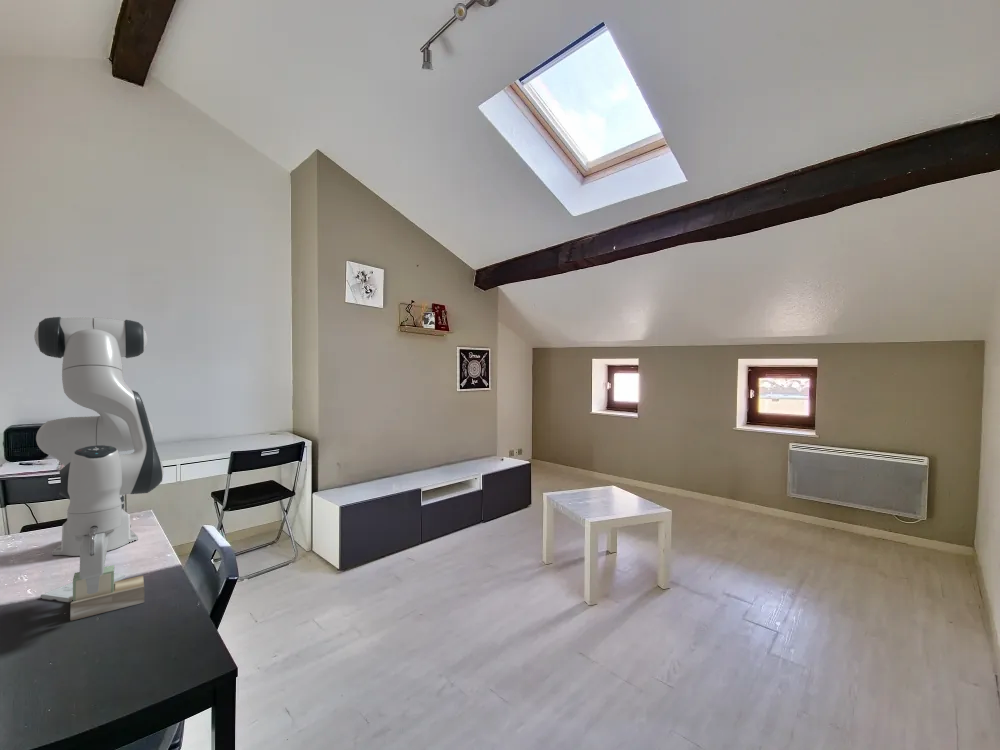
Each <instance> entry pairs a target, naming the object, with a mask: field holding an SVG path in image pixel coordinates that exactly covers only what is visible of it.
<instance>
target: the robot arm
mask: <svg viewBox="0 0 1000 750" xmlns="http://www.w3.org/2000/svg"><path fill="white" fill-rule="evenodd" d="M34 342H35V344H36V346H37V348H38V350H39V351H40V352H41V354H43V355H45V356H47V357H52V358H56V359H62V364H61V365H62V369H61V380H62V388H63V392H64V394H65V396H66V397H67V398H68V399H69V400H70V401H72V402H74V403H75V404H77V405H79V406H81V407H84V408H86V409H89V410H91V411H94V412H96V413H97V414H99V415H96V416H95V415H94V416H93V415H92V416H69V417H62V418H58V419H56V418H55V419H51V420H47V421H46V422H44V423H43V424H41V426H40V427H39V429H38V430H37V433H36V436H35V441H36V444H37V446H38V448H39V450H41V452H43V453H44V454H47V455H49V456H51V457H53V458H54V459H56V460H57V461H59V462H60V463H61V464H62V465H63V467H62V468H60V470H59V471H58V473H59V478H60V490H59V493H58V494H59V495H60V496H62V497H64V498H65V499H67V500H69V505H68V508H67V510H66V511H67V512H66V513H67V514H66V515H67V519H66V521H65V522H64V523H63V524H62V527H61V544H59V545H58V546H57V547H56V548H55V549H53V550H52V553H51V554H52V556H70V557H72V556H73V557H79V572H80V578H81V579H86V583H87V593H88V594H92V593H96V592H98V590H99V578H100V576H101V575H103V573H104V568H105V567H106V560H107V558H106V557H107V552H109V551H113V550H115V549H119V548H121V547H123V546H125V545H127V544H129V542H130V543H133V542H135V541H134V540H136V541H138V540H139V536H138V535H137V534H136V533H135V532H133V530H131V527H132V526H131V525H132V524H131V514H129V513H128V512H127V511H125V510H124V508H125V497H124V495H140V494H149V493H151V491H153V490H154V489H156V488H157V487H158V486H159V485H160V484H161V483H162V482H163V477H164V467H163V464H162V461H161V458H160V456H159V453H158V451H157V447H156V443H155V440H154V434H155V433H154V431H155V430H154V425H153V423H152V422H151V421H150V420H149V418H148V414H147V410H146V408H145V404H144V401H143V399H142V397H141V395H140V393H139V392H137V391H136V390H133V389H131V388H130V387H129V386H128V384H127V383H126V381H125V379H124V375H123V373H124V372H123V361H122V358H126V359H130V358H131V359H132V358H136V357H140V355H142V354H143V353H144V351H145V349H146V348H147V345H148V342H149V341H148V333H147V332H146V330H145V328H144V326H143V325H142V324H141V323H140V322H138V321H135V320H131V319H125V320H123V319H117V318H109V317H97V316H96V317H95V316H94V317H64V318H63V317H61V316H53V317H47V318H44V319H42V320H41V321H39V322H38V325H37V326H36V329H35V330H34ZM132 450H134V451H133V452H131V453H127V454H126V453H125V454H120V453H119V452H127V451H132ZM137 539H138V540H137ZM132 541H133V542H132Z"/></svg>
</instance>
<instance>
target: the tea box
mask: <svg viewBox="0 0 1000 750" xmlns="http://www.w3.org/2000/svg"><path fill="white" fill-rule="evenodd" d="M114 573H115V564H112V565H107V566H105V568H104V573H103V575H101V576H100V578H99V590H98V592H96V593H92V594H88V593H87V583H86V579H81V578H80V571H79V572H78V571H77V572H75V573H74V574H73V577H72V582H73V601H72V602H74V601H78V600H83V599H87V598H91V597H96V596H100V595H104V594H109V593H113V592H114Z"/></svg>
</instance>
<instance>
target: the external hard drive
mask: <svg viewBox="0 0 1000 750" xmlns="http://www.w3.org/2000/svg"><path fill="white" fill-rule="evenodd" d="M123 578H124V579H125V578H126V574H125V573H119V572H114V582H115V581H120V580H124V579H123ZM41 598H42V600H49V601H53V600H54V601H57V602H65V603H71V602H73V601H72V600H73V581H72V582H70V583H67V584H65V585H63V586H61V587H57V588H55V589H52V590H50V591H48V592H45V593H43V594H40V599H41Z"/></svg>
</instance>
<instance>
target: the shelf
mask: <svg viewBox="0 0 1000 750" xmlns="http://www.w3.org/2000/svg"><path fill="white" fill-rule="evenodd" d="M144 579H145V578H144V575H139V576H135V577H129V578H126V579H125V578H124V579H121V580H119V581H115V582H114V592H113V593H109V594H104V595H100V596H96V597H91V598H87V599H83V600H78V601H74V602H73V601H70V613H69V615H70V617H69V619H70V620H69V621H70V622H72V621H75V620H79V619H84V618H87V617H92V616H95V615H100V614H103V613H108V612H112V611H115V610H120V609H123V608H128V607H131V606H135V605H139V604H143V603H145V582H144Z"/></svg>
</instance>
